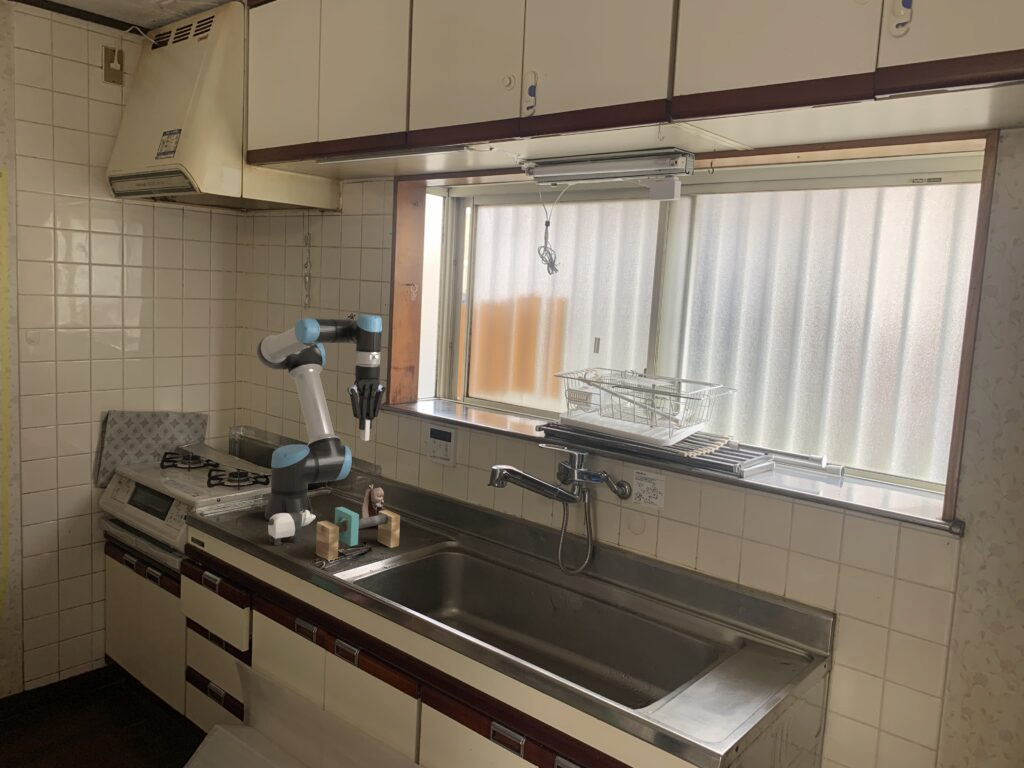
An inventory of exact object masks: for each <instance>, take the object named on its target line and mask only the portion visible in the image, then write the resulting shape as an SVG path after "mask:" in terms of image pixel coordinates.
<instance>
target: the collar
mask: <svg viewBox="0 0 1024 768" xmlns="http://www.w3.org/2000/svg"><path fill="white" fill-rule="evenodd" d="M359 519H360V514H359V513H357V512H355V511H352V510H350V509H349V508H347V507H343V506H339V507H334V523H340V522H342V521H344V520H347V521H348V527H347V532H346V533H344V532H339V541H340V542H341V543H343V544H346V545H347V546H349V547H353V546H358V545H359V529H358V528H359Z"/></svg>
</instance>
